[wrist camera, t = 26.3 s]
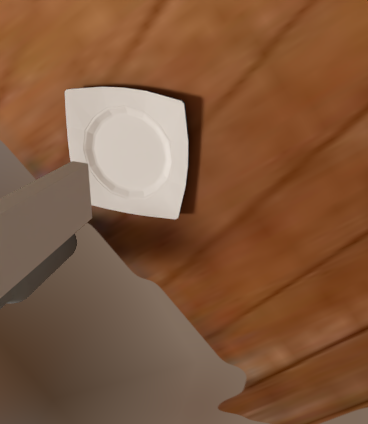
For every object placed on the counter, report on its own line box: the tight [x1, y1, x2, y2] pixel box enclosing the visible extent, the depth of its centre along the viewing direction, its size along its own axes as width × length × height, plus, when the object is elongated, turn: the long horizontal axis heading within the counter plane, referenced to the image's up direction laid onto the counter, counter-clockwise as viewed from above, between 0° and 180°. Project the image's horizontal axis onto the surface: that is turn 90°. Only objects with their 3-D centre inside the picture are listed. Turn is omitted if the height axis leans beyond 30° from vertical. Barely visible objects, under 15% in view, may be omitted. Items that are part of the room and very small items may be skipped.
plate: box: [65, 86, 189, 219], centre depth 51 cm, size 20×20×3 cm
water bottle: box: [0, 234, 77, 309], centre depth 52 cm, size 10×10×28 cm
